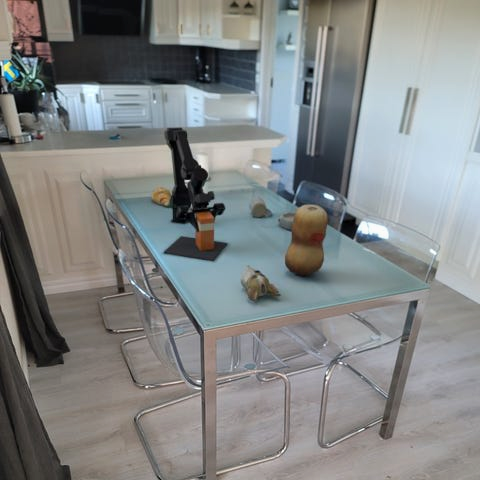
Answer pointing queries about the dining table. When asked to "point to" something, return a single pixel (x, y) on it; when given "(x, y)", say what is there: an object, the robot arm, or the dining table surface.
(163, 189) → the croissant
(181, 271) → the dining table surface
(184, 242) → the mat
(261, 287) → the ceramic sculpture
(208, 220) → the packet
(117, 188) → the dining table surface
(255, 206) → the ceramic mug
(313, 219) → the butternut squash
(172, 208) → the robot arm
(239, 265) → the dining table surface
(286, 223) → the dish
